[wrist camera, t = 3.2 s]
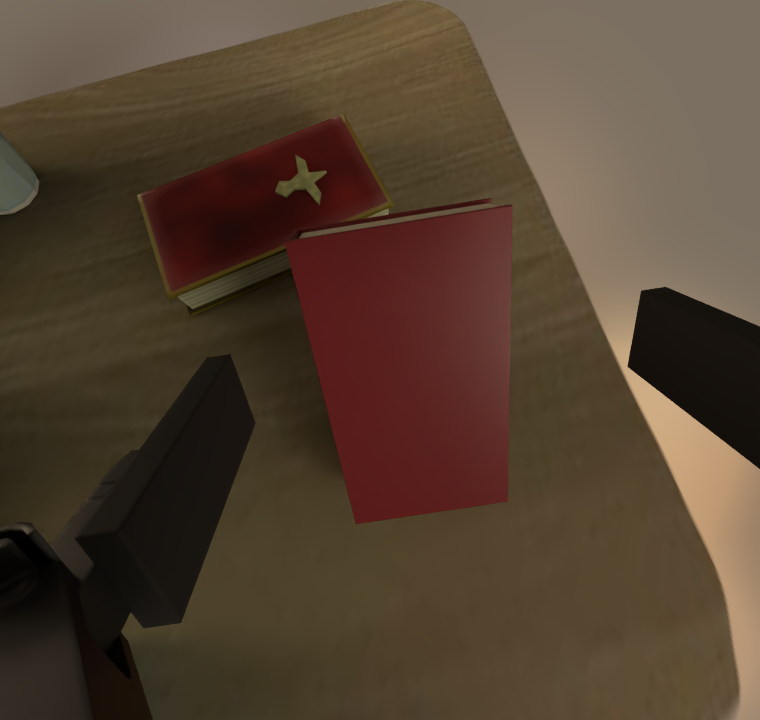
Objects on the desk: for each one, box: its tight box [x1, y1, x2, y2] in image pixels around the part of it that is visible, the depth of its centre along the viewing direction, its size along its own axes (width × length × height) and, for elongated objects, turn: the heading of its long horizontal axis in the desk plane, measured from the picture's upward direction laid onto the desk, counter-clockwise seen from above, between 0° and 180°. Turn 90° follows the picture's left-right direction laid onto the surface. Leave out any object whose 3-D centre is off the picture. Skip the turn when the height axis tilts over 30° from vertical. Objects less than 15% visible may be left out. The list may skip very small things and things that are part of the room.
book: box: [285, 198, 512, 524], centre depth 25 cm, size 20×11×4 cm
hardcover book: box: [137, 114, 394, 316], centre depth 37 cm, size 12×21×4 cm, turn 114°
